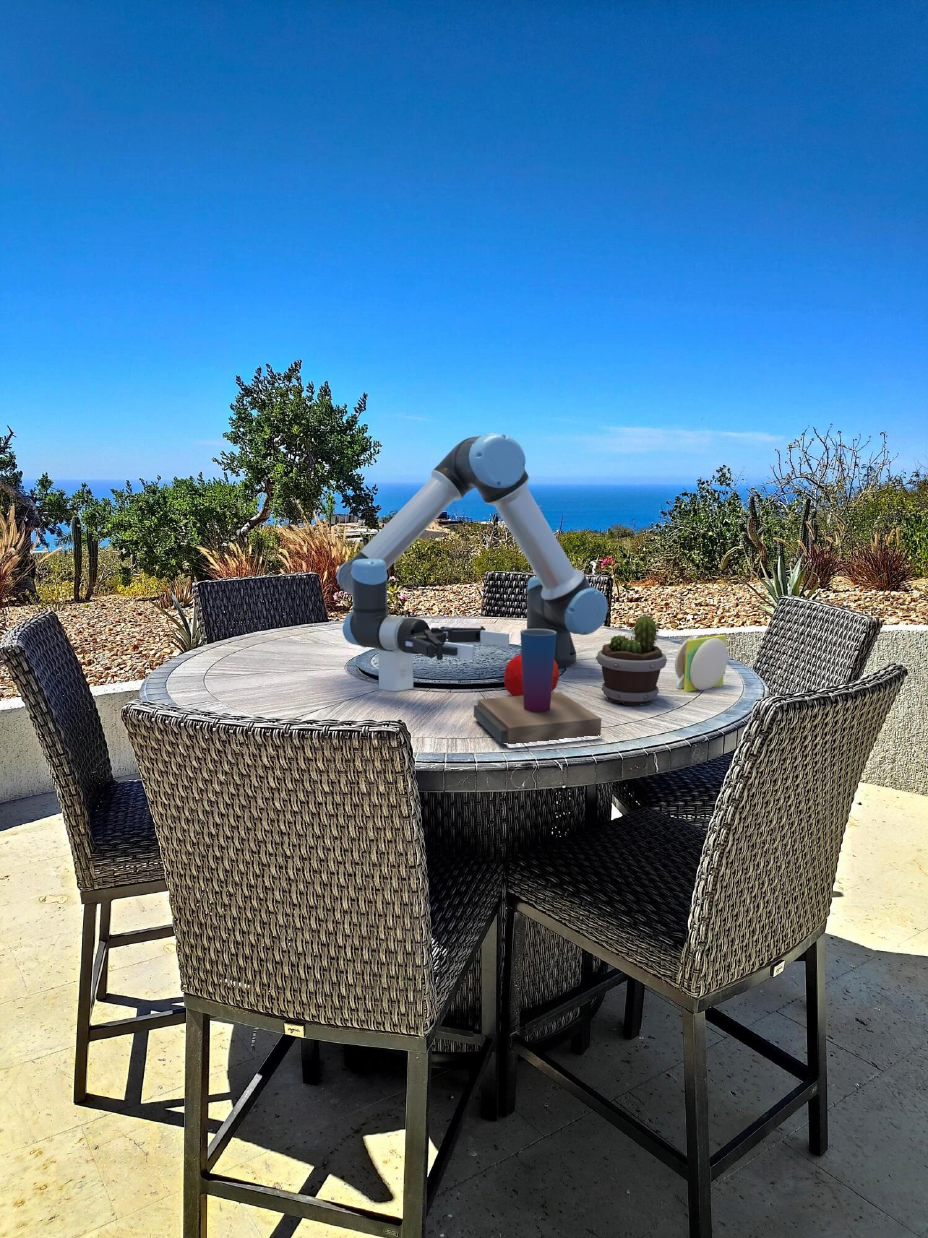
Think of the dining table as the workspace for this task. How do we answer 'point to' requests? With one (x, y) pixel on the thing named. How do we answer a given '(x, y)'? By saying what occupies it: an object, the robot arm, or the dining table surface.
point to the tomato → (515, 679)
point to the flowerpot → (632, 665)
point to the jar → (395, 670)
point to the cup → (537, 668)
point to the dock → (536, 720)
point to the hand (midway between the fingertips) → (491, 646)
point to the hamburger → (701, 663)
